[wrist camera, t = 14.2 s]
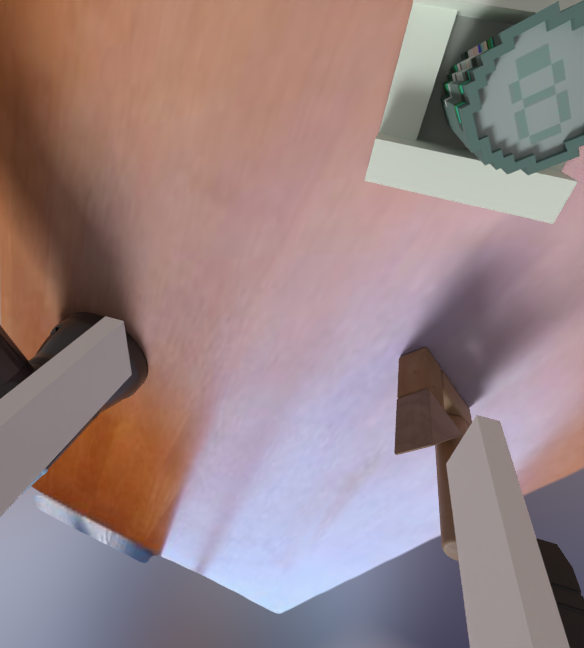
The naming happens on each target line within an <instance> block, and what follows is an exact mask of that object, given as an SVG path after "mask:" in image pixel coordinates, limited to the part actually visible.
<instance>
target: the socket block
mask: <svg viewBox="0 0 584 648" xmlns="http://www.w3.org/2000/svg"><path fill="white" fill-rule="evenodd" d="M557 1H559V7H560V11H562V10H564V9H566V8H568V7H570V6H573V5H575V4H577V3H579V2H581V1H583V0H413V6H412V9H411V13H410V17H409V21H408V25H407V28H406V32H405V36H404V40H403V44H402V47H401V51H400V55H399V59H398V63H397V66H396V70H395V74H394V78H393V82H392V85H391V89H390V93H389V97H388V101H387V104H386V108H385V112H384V116H383V120H382V123H381V127H380V131H379V134H378V135H377V137H376V139H375V142H374V146H373V150H372V154H371V158H370V162H369V166H368V169H367V173H366V177H365V181H368V182H372V183H377V184H381V185H385V186H390V187H394V188H398V189H403V190H407V191H411V192H416V193H420V194H425V195H429V196H433V197H438V198H442V199H446V200H451V201H455V202H459V203H464V204H468V205H472V206H477V207H481V208H486V209H490V210H494V211H499V212H503V213H507V214H512V215H516V216H520V217H525V218H529V219H534V220H538V221H542V222H547V223H551V224H553V223H554V221H555V220H556V218H557V216H558V214H559V213H560V211H561V209H562V208H563V206H564V204H565V203H566V201H567V199H568V198H569V196H570V194H571V192H572V191H573V189H574V187H575V186H576V184H577V182H578V181H576V180H574V179H573V178H571V177H569V176H568V175H566V174H564V173H563V172H561V171H562V169H563V167H564V165H565V163H566V162H567V161H565V162H562V163H560V164H557V165H554V166H552V167H549V168H547V169H544V170H541V171H539V172H536V173H533V174H531V175H527V174H526V173H524V172H523V171H522V170H521V169H520V170H518V171H515V172H513V173H510V174H506V173H505V172H504V171H503V170H502V169H501V168H500V169H498V170H495V168H494V167H493V166H492V165H491V164H488V165H484V164H483V163H482V162H481V161H480V159H479V158H478V157H477V156H476V155H475V154H474V153H471V151H470V150H469V149H468V148H467V147H466V146H465V144H464V143H463V142H462V141H461V140H460V139H459V137H458V136H457V135H456V134H455V133H454V131H453V130H452V129H451V128H450V127H449V126H448V124H447V122H446V118H445V114H444V110H443V107H442V103H441V99H440V98H441V97H443V96H445V91H444V87H443V84H444V83H446V82H447V81H448V79H447V75H449V74H450V73H452V70H451V66H453V65H455V64H457V63H459V62H461V61H462V58H461V54H463V53H465V52H466V51H468V50H470V49H472V48H474V47H475V46H477V45H479V44H481V43H483V42H484V41H486V40H488V39H490V38H492V37H493V36H495V35H497V34H499V33H501V32H502V31H504V30H506V29H508V28H510V27H512V26H513V25H515V24H517V23H519V22H521V21H523V20H524V19H526V18H528V17H530V16H532V15H534V14H535V13H537V12H539V11H541V10H543V9H545V8H546V7H548V6H550V5H552V4H554V3H556V2H557Z"/></svg>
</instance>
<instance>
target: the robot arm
mask: <svg viewBox="0 0 584 648" xmlns="http://www.w3.org/2000/svg"><path fill="white" fill-rule="evenodd" d="M146 377H147V364H146V360H145V358H144V355H143V353H142V351H141V350H140V348H139V347H138V345H137V344H136V342H135V341H134V340H133V339H132V338H131V337H130V336H129V335H128V334H127V333H126V332H125V326H124V321H122V320H118V319H114V318H110V317H107V316H105V317H104V318H103V317H101V316H98V315H95V314H90V313H76V314H72V315H70V316H69V317H67V318H66V319H64V320H63V321H61V322H60V323H59V324H57V325H56V326H55V327H54V329H53V330H52V332H51V334H50V336H49V337H48V338H47V339H46V340H45V342H44V343H43V345H42V346H41V348H40V349H39V350H38V352H37V353H36V355H35V356H34V357H33V358H32V359H31V360H29V361H28V360H27V359H26V357H25V356H24V355H23V354H22V352H21V351H20V350H19V349H18V347H17V346H16V345H15V343H14V342H13V341H12V340H11V338H10V337H9V336H8V335H7V333H6V332H5V331H4V329H3V328H2V327H1V325H0V517H1V516H2V515H3V513H4V512H5V511H6V510H7V509H8V508H9V507H10V506H11V505H12V504H13V503H14V501H15V500H16V499H17V498H18V497H19V496H20V495H21V494H23V493H24V492H25V491H26V490H27V489H28V488H29V487H30V486H32V485H33V484H34V483H35V482H36V481H37V480H38V479H39V478H40V477H41V476H42V475H44V474H46V473H47V472H48V469H49V468H50V467H51V465H52V464H53V463H54V462H55V461H56V460H57V459H58V458H59V457H60V456H61V455H62V454H63V453H64V451H65V450H66V449H67V448H68V447H69V446H70V445H71V444H72V443H73V442H74V441H75V440H76V438H77V437H78V436H79V435H80V434H81V433H82V432H83V431H84V430H85V429H86V428H87V427H88V426H89V424H90V423H91V422H92V421H93V420H94V419H95V418H96V417H97V416H98V415H99V414H100V413H101V412H103V411H104V410H106V409H108V408H110V407H111V406H113V405H115V404H116V403H118V402H120V401H121V400H123V399H125V398H127V397H129V396H131V395H133V394H134V393H135V392H136V391H137V390H138V389H139V388H140V386H141V385H142V384H143V383H144V382H145V380H146ZM446 467H447V474H448V482H449V489H450V497H451V505H452V512H453V520H454V528H455V535H456V543H457V551H458V558H459V566H460V573H461V581H462V589H463V596H464V604H465V612H466V620H467V627H468V635H469V643H470V648H584V598H583V596H581V590H580V587H579V584H578V581H577V579H576V576H575V573H574V571H573V568H572V566H571V565H570V563H569V562H568V560H567V559H566V557H565V556H564V554H563V553H562V551H561V550H560V548H559V547H558V545H557V544H554V543H550V542H547V541H544V540H540V539H537V538H536V536H535V533H534V530H533V527H532V524H531V520H530V517H529V514H528V510H527V507H526V504H525V501H524V497H523V494H522V491H521V488H520V484H519V481H518V478H517V475H516V471H515V468H514V465H513V462H512V459H511V455H510V452H509V449H508V446H507V442H506V439H505V436H504V433H503V429H502V426H501V423H500V421H497V420H493V419H489V418H486V417H482V416H478V415H476V417H475V419H474V420H473V422H472V423H471V425H470V427H469V428H468V430H467V431H466V433H465V435H464V436H463V438H462V439H461V441H460V443H459V444H458V446H457V447H456V449H455V451H454V452H453V454H452V455H451V457H450V459H449V460H448V462H447V463H446Z"/></svg>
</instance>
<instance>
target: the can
mask: <svg viewBox="0 0 584 648" xmlns="http://www.w3.org/2000/svg"><path fill="white" fill-rule="evenodd" d="M461 58H462V61H461V62H459V63H457V64H455V65H453V66H451V70H452V73H450V74H449V75H447V79H448V81H447V82H446V83H444V84H443V87H444V91H445V96H443V97H441V98H440V99H441V103H442V107H443V110H444V114H445V118H446V122H447V124H448V126H449V127H450V128H451V129H452V130H453V131H454V133H455V134H456V135H457V136H458V137H459V139H460V140H461V141H462V142H463V143H464V144H465V146H466V147H467V148H468V149H469V150H470V151H471V153H474V154H475V155H476V156H477V157H478V158H479V159H480V161H481V162H482V163H483V164H484V165H488V164H491V165H492V166H493V167H494V168H495V170H498V169H500V168H501V169H502V170H503V171H504V172H505V173H506V174H510V173H513V172H515V171H518V170H520V169H521V170H522V171H523V172H524V173H526V174H527V175H531V174H533V173H536V172H539V171H541V170H544V169H547V168H549V167H552V166H554V165H557V164H560V163H562V162H565V161H568V160H570V159H573V158H576V157H578V156H579V148H578V147H580V146H582V145H584V0H583V1H581V2H579V3H577V4H575V5H573V6H570V7H568V8H566V9H564V10H562V11H560V7H559V1H557V2H556V3H554V4H552V5H550V6H548V7H546V8H545V9H543V10H541V11H539V12H537V13H535V14H534V15H532V16H530V17H528V18H526V19H524V20H523V21H521V22H519V23H517V24H515V25H513V26H512V27H510V28H508V29H506V30H504V31H502V32H501V33H499V34H497V35H495V36H493V37H492V38H490V39H488V40H486V41H484V42H483V43H481V44H479V45H477V46H475V47H474V48H472V49H470V50H468V51H466V52H465V53H463V54H461Z"/></svg>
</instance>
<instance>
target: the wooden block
mask: <svg viewBox="0 0 584 648" xmlns="http://www.w3.org/2000/svg"><path fill="white" fill-rule="evenodd" d="M397 397H398V399H397V410H396V432H395V454H396V455H398V454H402V453H406V452H410V451H414V450H418V449H422V448H426V447H430V446H433V445H435V450H436V465H437V481H438V496H439V512H440V527H441V541H442V548H443V550H444V552H445V553H446V554H447V555H448V556H449V557H451V558H453V559H455V560H458V561H459V558H458V551H457V543H456V535H455V528H454V520H453V512H452V505H451V497H450V489H449V482H448V474H447V467H446V463H447V462H448V460H449V459H450V457H451V455H452V454H453V452H454V451H455V449H456V447H457V446H458V444H459V443H460V441H461V439H462V438H463V436H464V435H465V433H466V431H467V430H468V428H469V427H470V425H471V423H472V420H471V414H470V409H469V407H468V406H467V405H466V403H465V402H464V400H463V399H462V397H461V396H460V395H459V393H458V392H457V390H456V389H455V387H454V386H453V385H452V383H451V382H450V380H449V379H448V377H447V376H446V374H445V373H444V372H443V370H441V369H440V366H439V364H438V363H437V361H436V360H435V359H434V357H433V356H432V354H431V353H430V351H429V350H428V349H427V348H426V347H424V348H421V349H419V350H416V351H414V352H411V353H409V354H406V355H404V356H401V357H400V358H399V372H398V395H397Z"/></svg>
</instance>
